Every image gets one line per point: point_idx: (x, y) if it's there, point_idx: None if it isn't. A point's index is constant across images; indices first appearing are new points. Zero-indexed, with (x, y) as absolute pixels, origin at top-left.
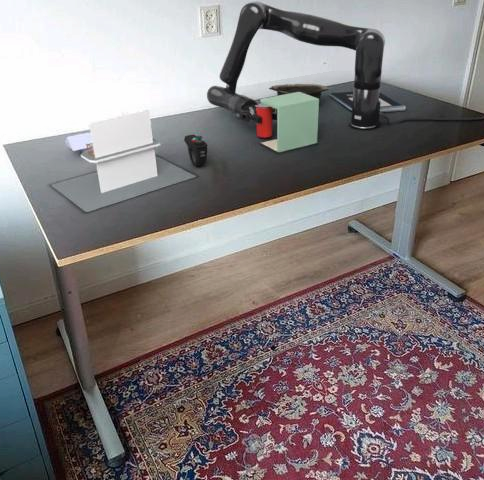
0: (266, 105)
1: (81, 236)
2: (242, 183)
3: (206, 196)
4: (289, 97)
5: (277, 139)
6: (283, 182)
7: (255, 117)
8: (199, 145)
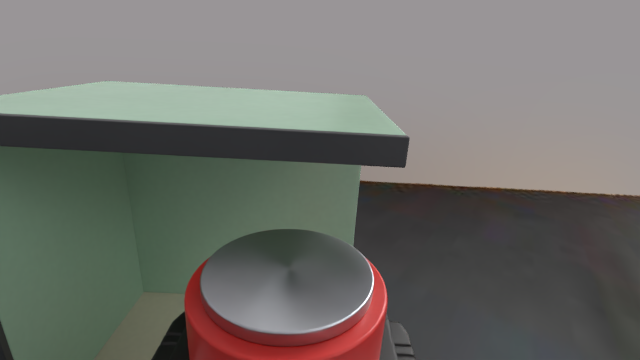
0: (282, 250)
1: None
2: (526, 230)
3: (621, 227)
4: (177, 102)
5: None
6: (424, 204)
7: (411, 350)
8: None
